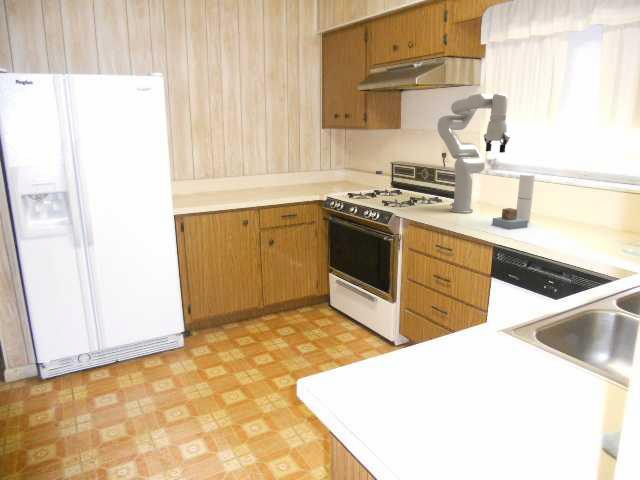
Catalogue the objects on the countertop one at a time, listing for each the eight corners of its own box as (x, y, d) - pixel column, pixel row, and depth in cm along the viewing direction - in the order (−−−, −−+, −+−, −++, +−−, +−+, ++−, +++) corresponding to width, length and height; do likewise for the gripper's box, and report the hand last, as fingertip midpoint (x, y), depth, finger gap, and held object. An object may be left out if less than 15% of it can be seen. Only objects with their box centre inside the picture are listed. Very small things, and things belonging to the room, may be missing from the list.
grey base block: (492, 225, 258) (492, 218, 257) (509, 223, 263) (509, 216, 262) (510, 230, 247) (510, 222, 246) (527, 227, 252) (528, 220, 251)
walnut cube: (501, 218, 256) (502, 208, 254) (508, 217, 258) (509, 208, 257) (509, 220, 251) (510, 210, 250) (516, 219, 254) (517, 209, 252)
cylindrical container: (512, 220, 268) (517, 174, 262) (522, 219, 270) (527, 173, 264) (522, 223, 261) (527, 175, 255) (532, 222, 264) (537, 175, 258)
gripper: (480, 118, 264) (477, 150, 268) (505, 118, 249) (502, 153, 253) (491, 118, 267) (488, 150, 271) (516, 118, 252) (513, 152, 256)
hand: (495, 151), depth 262 cm, fingers open, 9 cm apart
